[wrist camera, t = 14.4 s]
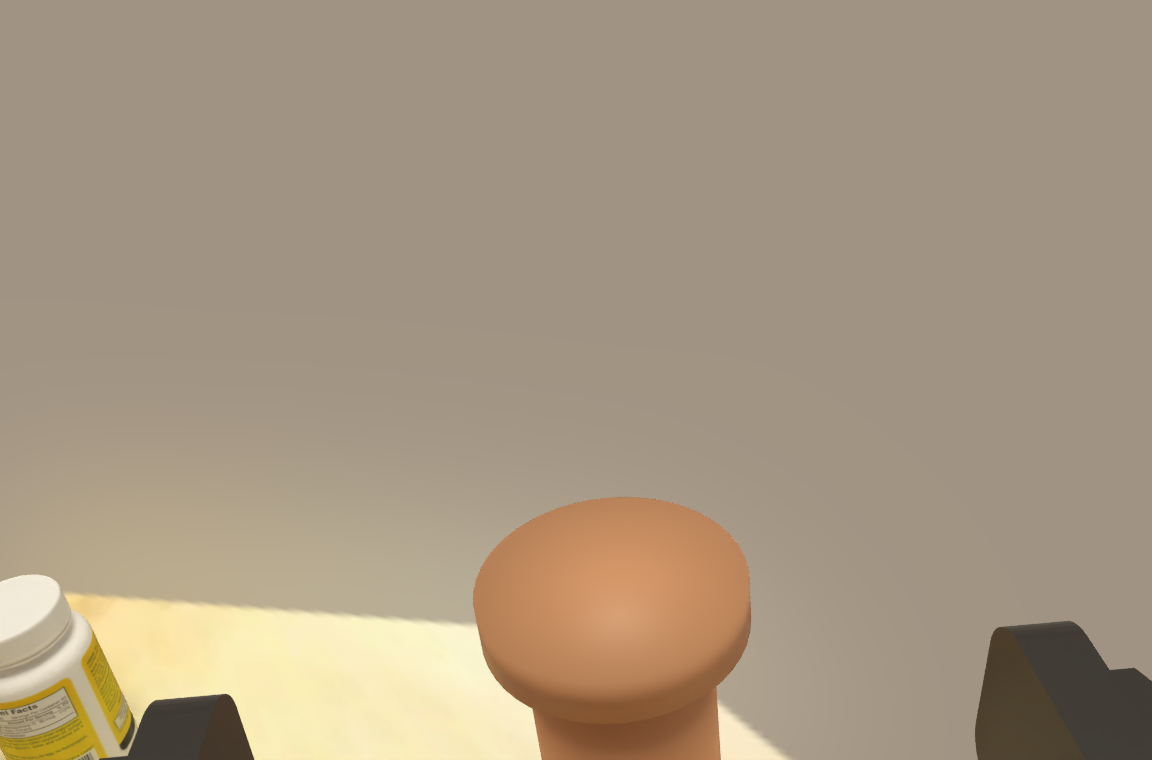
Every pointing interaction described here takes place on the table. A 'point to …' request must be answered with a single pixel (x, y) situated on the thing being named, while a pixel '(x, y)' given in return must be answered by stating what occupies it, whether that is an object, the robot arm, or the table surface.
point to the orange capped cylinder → (616, 627)
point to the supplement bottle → (55, 680)
